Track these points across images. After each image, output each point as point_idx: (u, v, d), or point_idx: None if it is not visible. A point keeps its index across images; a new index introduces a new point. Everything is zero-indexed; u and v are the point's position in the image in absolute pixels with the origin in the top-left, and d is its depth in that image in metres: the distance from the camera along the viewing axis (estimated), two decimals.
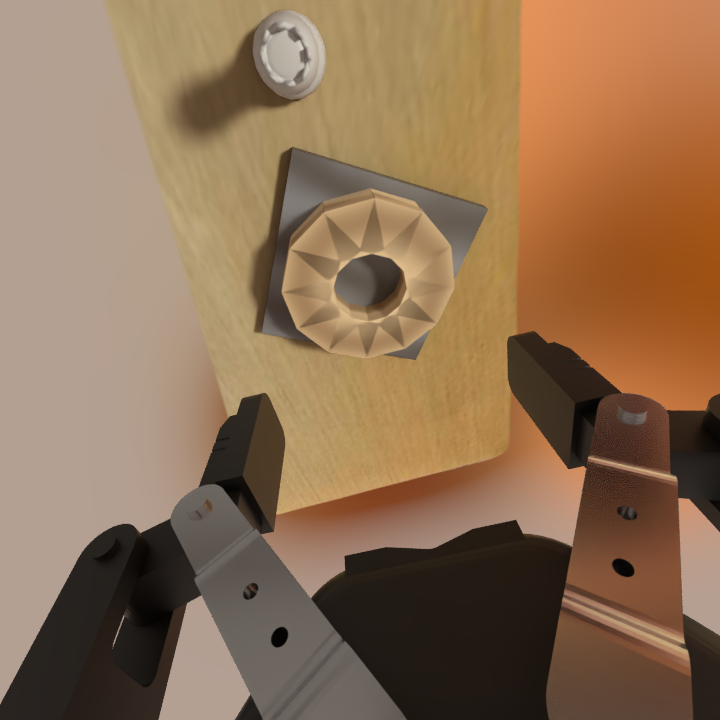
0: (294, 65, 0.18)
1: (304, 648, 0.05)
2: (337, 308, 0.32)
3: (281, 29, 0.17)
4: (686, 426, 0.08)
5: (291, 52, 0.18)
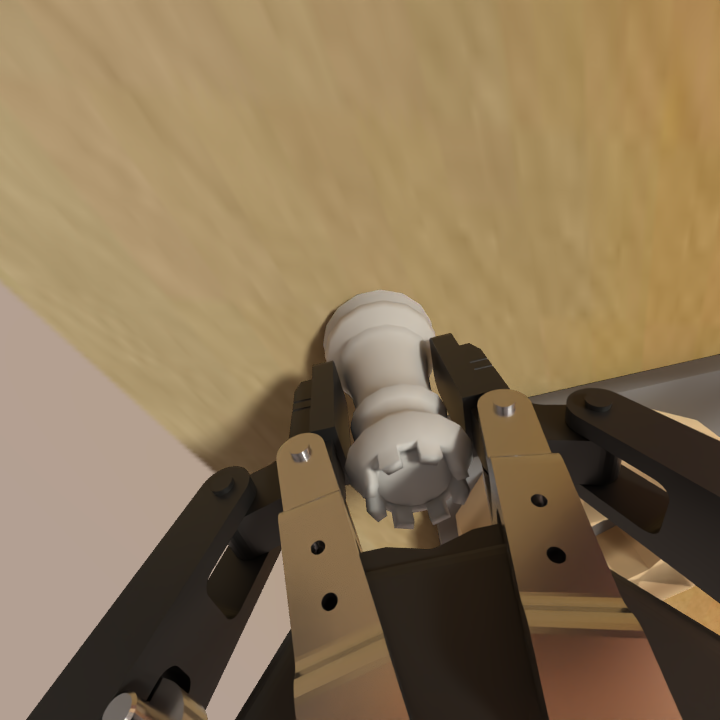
0: (435, 487, 0.09)
1: (347, 624, 0.05)
2: None
3: (395, 471, 0.08)
4: (552, 418, 0.09)
5: (423, 476, 0.09)
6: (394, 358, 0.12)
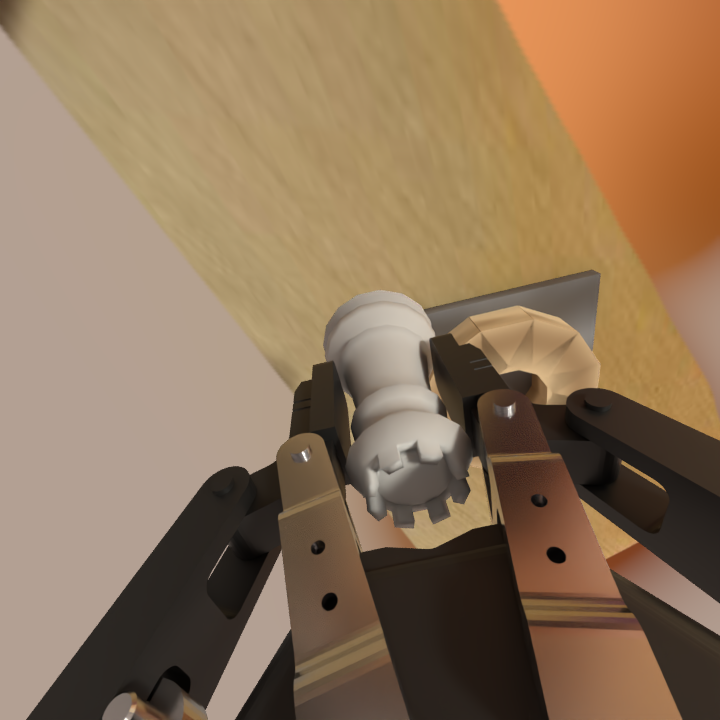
0: (435, 486, 0.09)
1: (347, 625, 0.05)
2: None
3: (396, 470, 0.08)
4: (551, 418, 0.09)
5: (423, 476, 0.09)
6: (394, 358, 0.12)
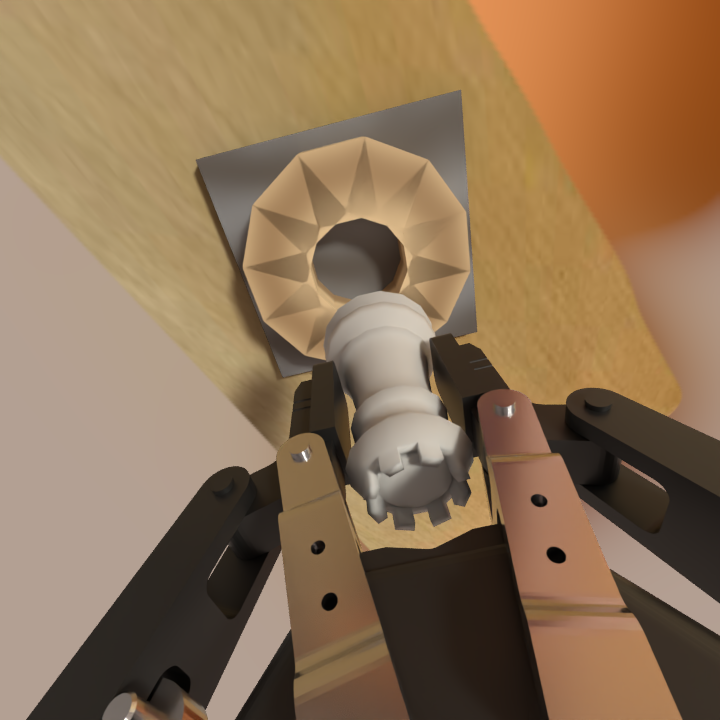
0: (435, 488, 0.09)
1: (347, 624, 0.05)
2: (335, 310, 0.25)
3: (396, 472, 0.08)
4: (551, 418, 0.09)
5: (424, 478, 0.09)
6: (394, 359, 0.12)
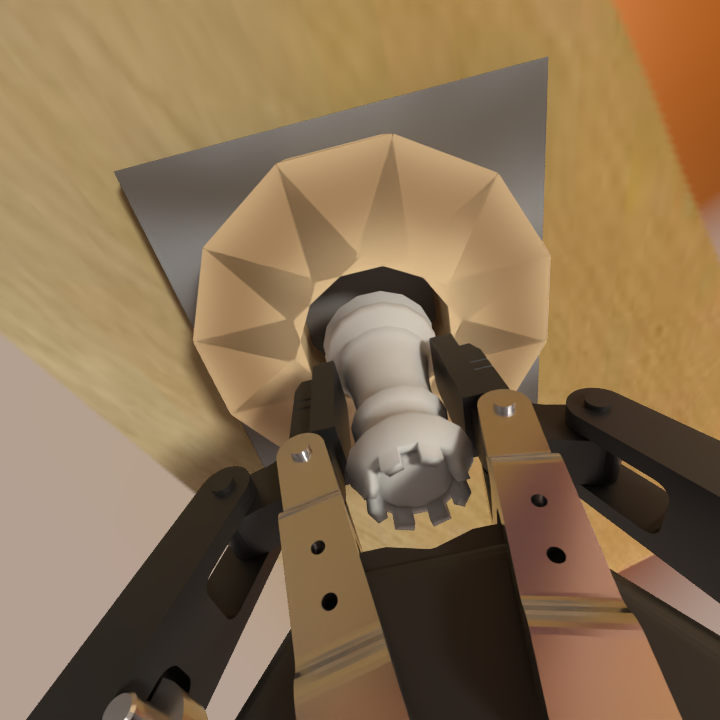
0: (435, 488, 0.09)
1: (347, 624, 0.05)
2: None
3: (396, 473, 0.08)
4: (551, 418, 0.09)
5: (424, 478, 0.09)
6: (394, 359, 0.12)
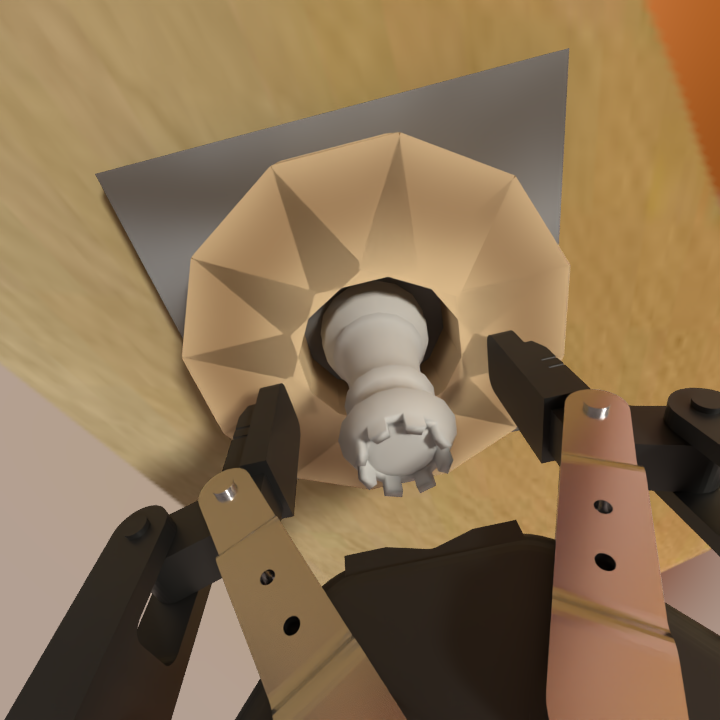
0: (421, 457, 0.10)
1: (315, 640, 0.05)
2: (340, 416, 0.15)
3: (383, 440, 0.09)
4: (648, 420, 0.08)
5: (410, 447, 0.10)
6: (385, 342, 0.12)
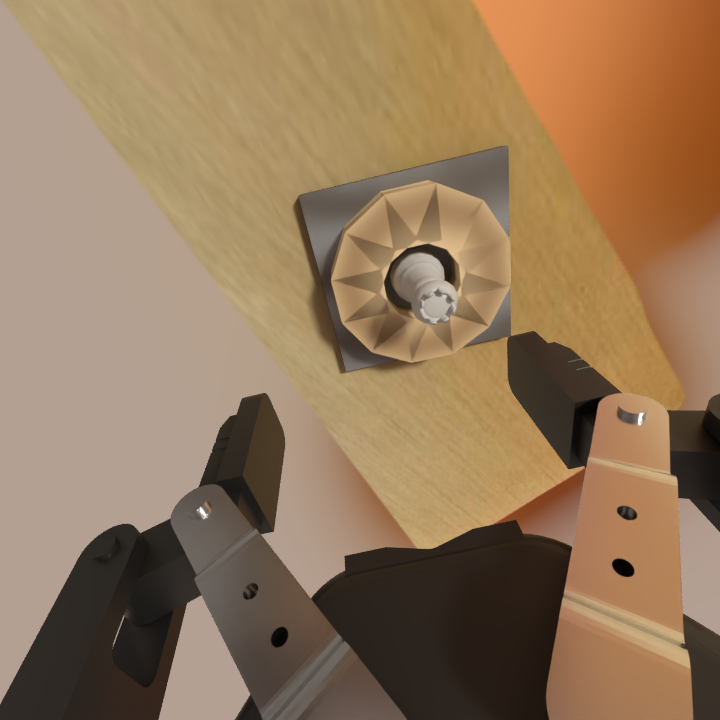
0: (444, 308, 0.25)
1: (304, 648, 0.05)
2: (400, 316, 0.31)
3: (431, 296, 0.25)
4: (686, 426, 0.08)
5: (440, 302, 0.25)
6: (427, 271, 0.28)
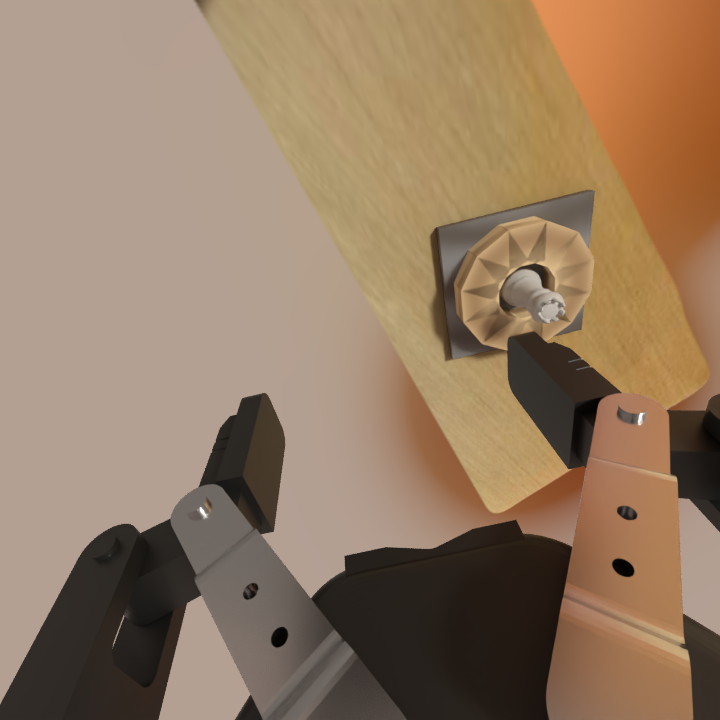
0: (555, 311, 0.36)
1: (305, 648, 0.05)
2: (506, 316, 0.41)
3: (549, 304, 0.35)
4: (686, 426, 0.08)
5: (553, 308, 0.36)
6: (535, 284, 0.38)
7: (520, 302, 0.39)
